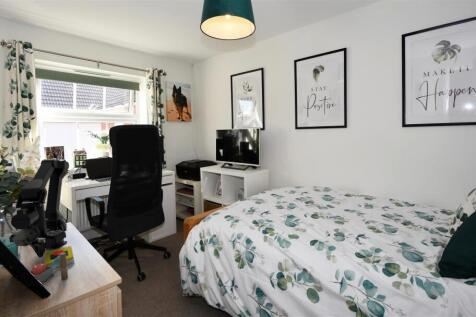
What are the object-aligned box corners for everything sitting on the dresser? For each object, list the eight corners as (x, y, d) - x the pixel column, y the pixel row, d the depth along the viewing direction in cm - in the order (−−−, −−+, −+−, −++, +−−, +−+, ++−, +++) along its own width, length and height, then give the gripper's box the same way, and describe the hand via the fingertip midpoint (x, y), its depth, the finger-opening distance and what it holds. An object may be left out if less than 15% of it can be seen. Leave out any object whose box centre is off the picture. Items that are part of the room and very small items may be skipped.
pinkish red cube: (39, 271, 91) (38, 261, 91) (49, 272, 91) (48, 262, 91) (30, 278, 88) (28, 267, 87) (40, 278, 87) (39, 268, 87)
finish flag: (64, 276, 92) (61, 252, 90) (69, 276, 92) (66, 252, 90) (52, 286, 86) (49, 260, 85) (58, 286, 86) (55, 261, 85)
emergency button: (43, 263, 93) (43, 247, 105) (44, 274, 94) (45, 257, 106) (74, 255, 99) (71, 240, 111) (75, 266, 99) (72, 250, 111)
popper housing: (39, 275, 92) (38, 266, 92) (53, 276, 92) (52, 266, 92) (26, 284, 87) (25, 274, 87) (41, 285, 87) (40, 275, 86)
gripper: (-8, 226, 92) (-2, 267, 95) (41, 228, 91) (46, 269, 93) (20, 215, 103) (25, 252, 106) (65, 216, 102) (69, 254, 104)
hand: (40, 257), depth 102 cm, fingers closed
